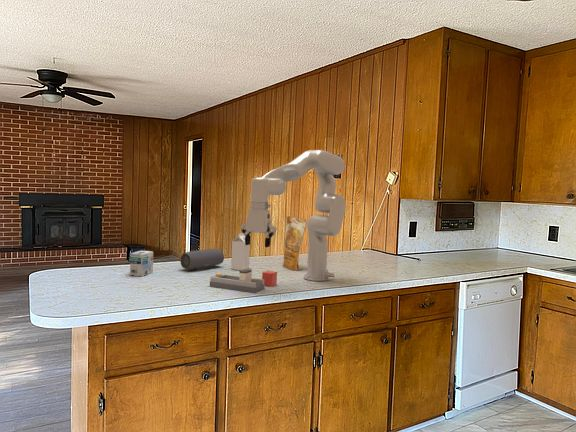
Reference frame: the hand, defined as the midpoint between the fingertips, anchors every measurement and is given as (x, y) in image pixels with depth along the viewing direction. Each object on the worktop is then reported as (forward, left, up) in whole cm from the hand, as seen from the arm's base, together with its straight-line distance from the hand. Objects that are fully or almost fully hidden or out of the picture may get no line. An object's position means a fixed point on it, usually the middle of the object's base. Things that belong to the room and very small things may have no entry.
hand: (257, 245), depth 197 cm
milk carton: (+28, -36, -19) cm, 49 cm away
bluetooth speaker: (+45, -26, -19) cm, 55 cm away
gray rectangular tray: (+9, +1, -19) cm, 21 cm away
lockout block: (-1, -11, -19) cm, 22 cm away
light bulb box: (+61, +2, -19) cm, 64 cm away
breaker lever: (+5, +1, -17) cm, 18 cm away
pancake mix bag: (+6, -55, -19) cm, 58 cm away
